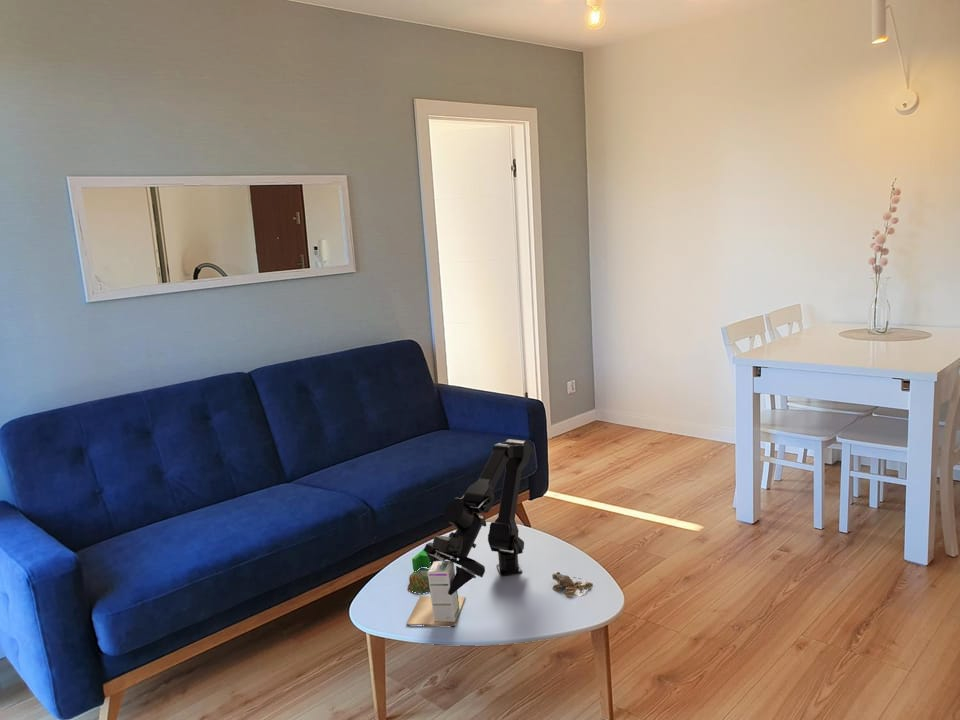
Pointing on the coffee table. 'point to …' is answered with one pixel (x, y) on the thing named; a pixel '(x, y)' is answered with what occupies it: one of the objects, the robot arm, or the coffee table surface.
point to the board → (429, 613)
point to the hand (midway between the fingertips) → (439, 589)
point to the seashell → (419, 582)
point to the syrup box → (443, 591)
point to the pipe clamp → (421, 560)
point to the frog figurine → (570, 585)
